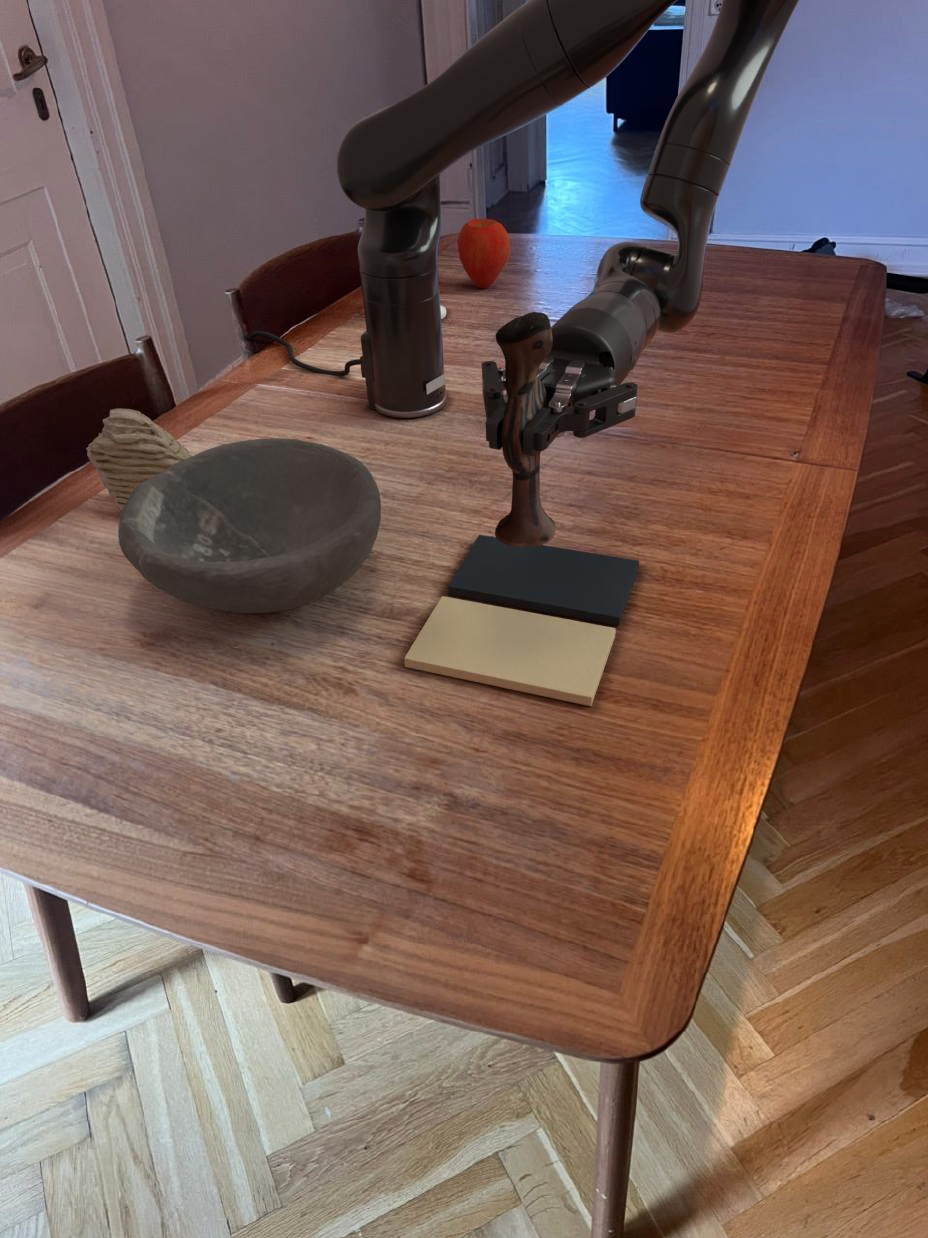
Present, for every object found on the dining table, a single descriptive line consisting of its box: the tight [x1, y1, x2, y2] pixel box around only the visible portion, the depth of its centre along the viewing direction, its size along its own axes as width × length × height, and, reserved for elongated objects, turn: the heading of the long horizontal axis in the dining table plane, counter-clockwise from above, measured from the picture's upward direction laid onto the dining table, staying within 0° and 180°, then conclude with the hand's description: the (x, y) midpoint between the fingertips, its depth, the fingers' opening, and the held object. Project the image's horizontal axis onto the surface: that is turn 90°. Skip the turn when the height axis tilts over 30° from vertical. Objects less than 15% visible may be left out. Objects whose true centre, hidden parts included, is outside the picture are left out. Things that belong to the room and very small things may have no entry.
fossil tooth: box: [85, 407, 193, 511], centre depth 93 cm, size 12×6×15 cm
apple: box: [456, 218, 511, 290], centre depth 145 cm, size 9×8×11 cm
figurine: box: [494, 311, 557, 547], centre depth 66 cm, size 7×5×18 cm
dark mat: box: [447, 534, 640, 627], centre depth 83 cm, size 16×9×1 cm, turn 70°
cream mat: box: [403, 595, 617, 707], centre depth 75 cm, size 16×9×1 cm, turn 70°
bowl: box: [117, 437, 382, 614], centre depth 82 cm, size 23×22×10 cm
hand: (510, 440), depth 63 cm, fingers closed on figurine
